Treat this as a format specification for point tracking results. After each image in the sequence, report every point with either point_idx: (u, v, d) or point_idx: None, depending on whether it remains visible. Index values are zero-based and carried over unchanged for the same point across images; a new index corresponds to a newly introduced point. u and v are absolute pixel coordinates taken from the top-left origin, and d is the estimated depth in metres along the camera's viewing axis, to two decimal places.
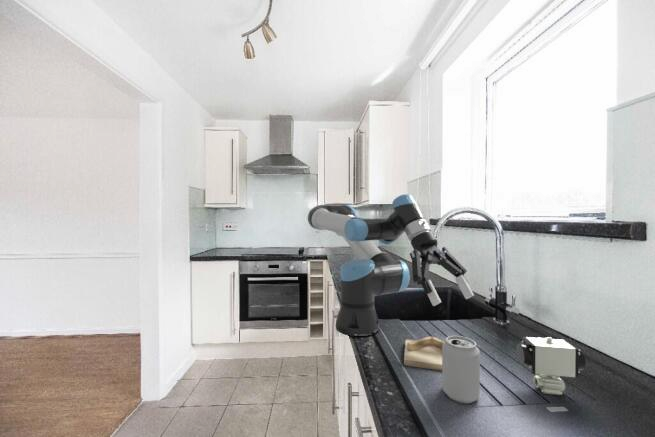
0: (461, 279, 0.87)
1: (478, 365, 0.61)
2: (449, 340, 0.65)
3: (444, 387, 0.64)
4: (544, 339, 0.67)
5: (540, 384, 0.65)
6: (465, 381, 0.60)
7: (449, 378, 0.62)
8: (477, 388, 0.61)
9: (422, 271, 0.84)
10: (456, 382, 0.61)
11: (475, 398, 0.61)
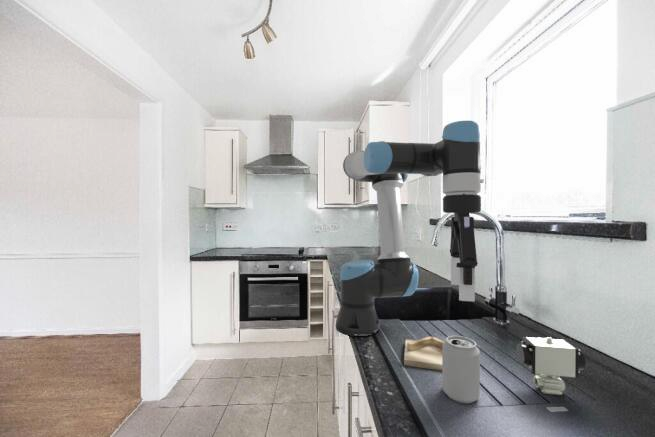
0: (460, 262, 0.69)
1: (478, 365, 0.61)
2: (449, 340, 0.65)
3: (444, 387, 0.64)
4: (544, 339, 0.67)
5: (540, 384, 0.65)
6: (465, 381, 0.60)
7: (449, 378, 0.62)
8: (477, 388, 0.61)
9: None
10: (456, 382, 0.61)
11: (475, 398, 0.61)
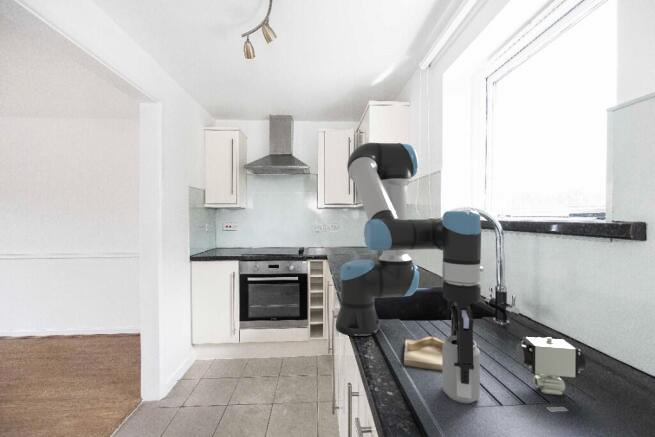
0: None
1: (478, 365, 0.61)
2: (449, 340, 0.65)
3: (444, 387, 0.63)
4: (544, 339, 0.67)
5: (540, 384, 0.65)
6: None
7: (449, 378, 0.62)
8: (477, 388, 0.61)
9: None
10: (456, 382, 0.61)
11: (475, 398, 0.61)
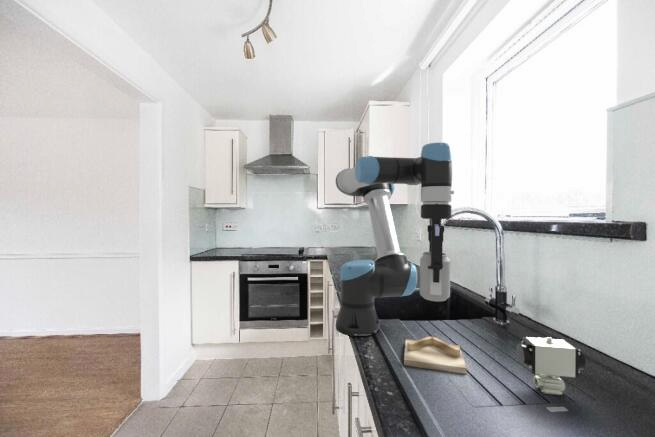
0: None
1: (448, 270, 0.74)
2: (426, 254, 0.78)
3: (421, 291, 0.77)
4: (544, 339, 0.67)
5: (540, 384, 0.65)
6: None
7: (424, 282, 0.75)
8: (447, 289, 0.74)
9: None
10: (429, 284, 0.74)
11: (445, 297, 0.74)
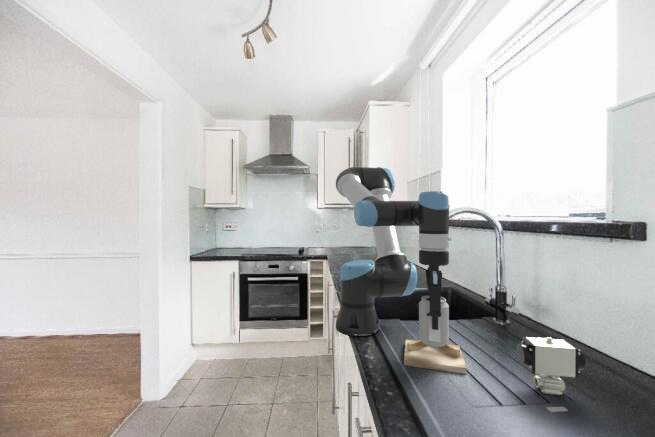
0: None
1: (447, 316, 0.75)
2: (424, 298, 0.79)
3: (420, 336, 0.78)
4: (544, 339, 0.67)
5: (540, 384, 0.65)
6: None
7: (423, 327, 0.76)
8: (446, 335, 0.75)
9: None
10: (428, 330, 0.75)
11: (444, 342, 0.75)
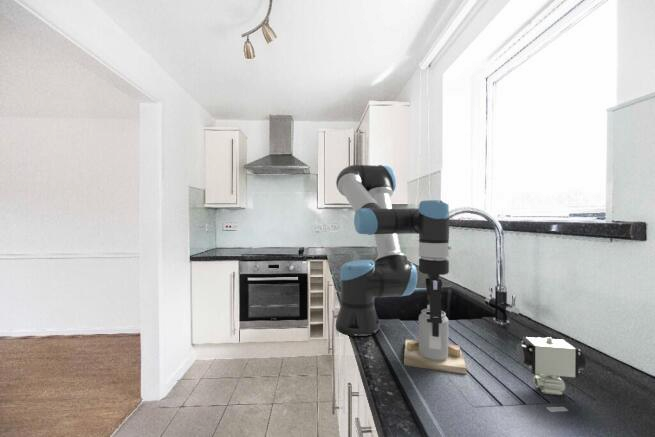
0: None
1: (446, 330, 0.76)
2: (424, 312, 0.80)
3: (420, 349, 0.78)
4: (544, 339, 0.67)
5: (540, 384, 0.65)
6: None
7: (423, 341, 0.76)
8: (445, 349, 0.75)
9: None
10: (428, 344, 0.75)
11: (444, 357, 0.75)
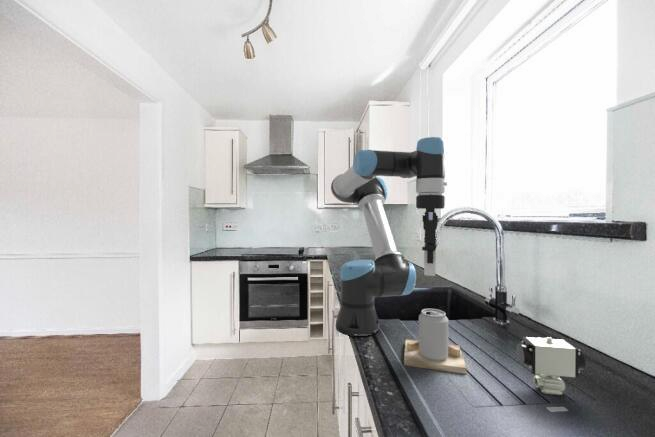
0: None
1: (446, 330, 0.76)
2: (424, 312, 0.80)
3: (420, 349, 0.78)
4: (544, 339, 0.67)
5: (540, 384, 0.65)
6: (435, 342, 0.75)
7: (423, 341, 0.77)
8: (445, 349, 0.75)
9: None
10: (428, 344, 0.75)
11: (444, 357, 0.75)
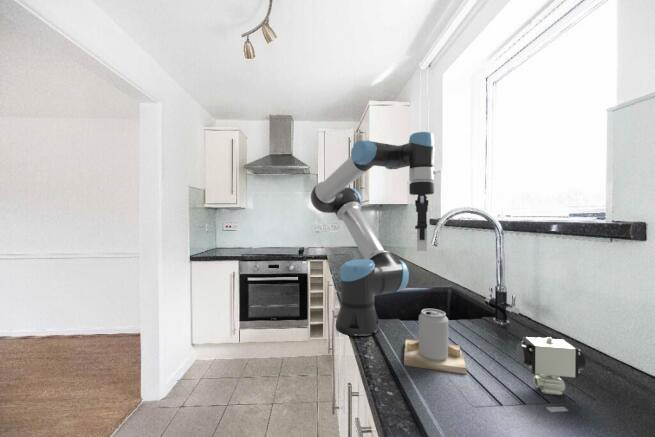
0: None
1: (446, 330, 0.76)
2: (424, 312, 0.80)
3: (420, 349, 0.78)
4: (544, 339, 0.67)
5: (540, 384, 0.65)
6: (435, 342, 0.75)
7: (423, 341, 0.77)
8: (445, 349, 0.75)
9: None
10: (428, 344, 0.75)
11: (444, 357, 0.75)
